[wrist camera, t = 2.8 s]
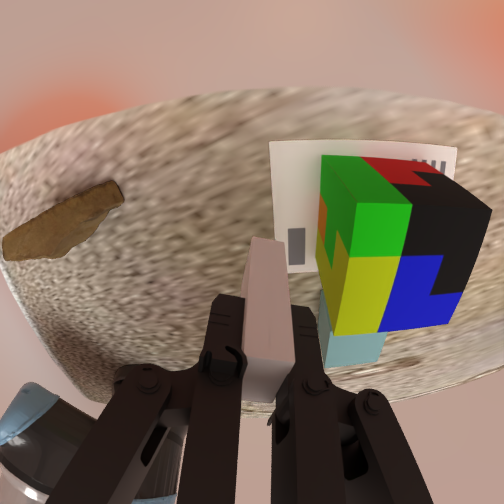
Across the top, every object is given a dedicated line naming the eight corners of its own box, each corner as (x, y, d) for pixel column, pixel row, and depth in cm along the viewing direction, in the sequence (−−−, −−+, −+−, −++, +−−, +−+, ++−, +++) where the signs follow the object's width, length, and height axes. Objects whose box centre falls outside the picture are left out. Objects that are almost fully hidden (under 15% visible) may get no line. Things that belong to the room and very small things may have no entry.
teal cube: (317, 327, 33) (324, 368, 28) (320, 289, 30) (330, 331, 25) (364, 322, 33) (377, 361, 28) (373, 285, 30) (390, 324, 25)
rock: (111, 155, 21) (20, 169, 19) (92, 256, 18) (-5, 257, 16) (139, 215, 31) (64, 219, 29) (133, 291, 28) (54, 289, 27)
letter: (276, 273, 29) (276, 274, 29) (268, 141, 22) (268, 141, 22) (434, 261, 28) (435, 262, 28) (456, 147, 21) (457, 147, 21)
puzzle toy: (406, 255, 27) (448, 323, 19) (315, 257, 28) (333, 336, 19) (425, 162, 22) (492, 209, 13) (321, 154, 22) (357, 202, 14)
